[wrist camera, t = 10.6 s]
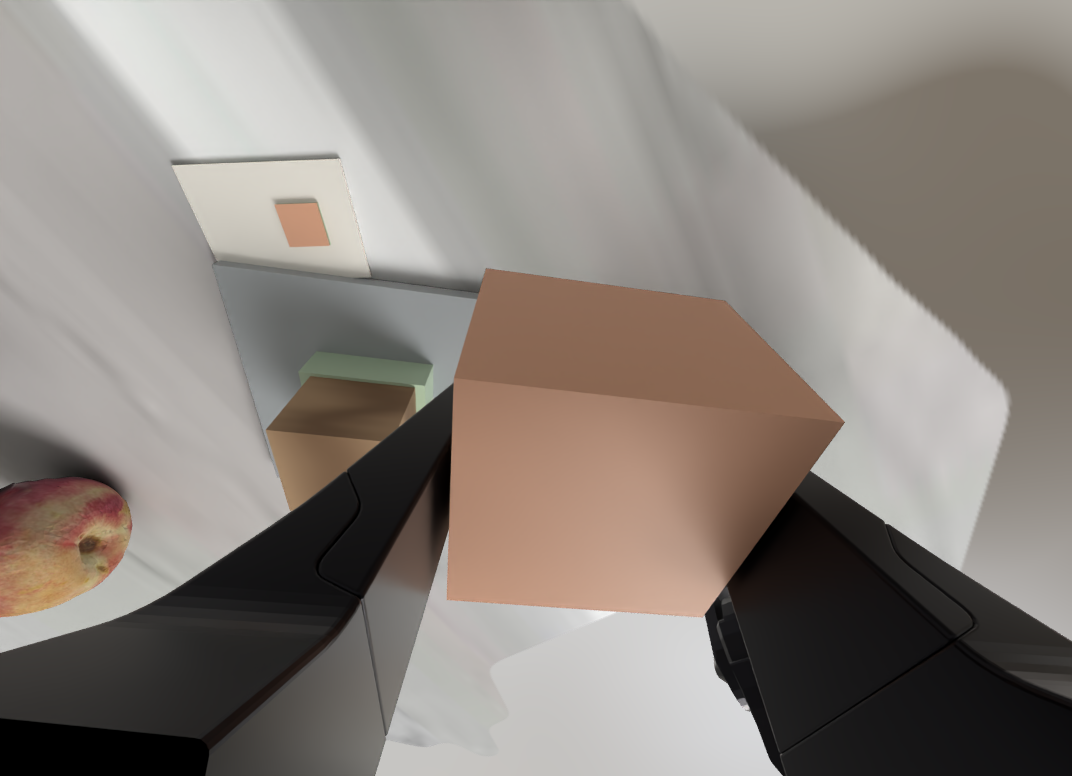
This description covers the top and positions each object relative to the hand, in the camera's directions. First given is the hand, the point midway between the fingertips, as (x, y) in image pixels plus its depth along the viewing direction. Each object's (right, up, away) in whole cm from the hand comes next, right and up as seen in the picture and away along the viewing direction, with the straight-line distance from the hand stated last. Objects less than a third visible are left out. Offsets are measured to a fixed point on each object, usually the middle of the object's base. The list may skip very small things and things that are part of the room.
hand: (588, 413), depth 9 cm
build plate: (-10, 0, +15) cm, 18 cm away
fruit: (-31, -6, +20) cm, 38 cm away
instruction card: (-13, +8, +10) cm, 18 cm away
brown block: (-10, -1, +12) cm, 16 cm away
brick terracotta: (0, +1, +1) cm, 1 cm away
